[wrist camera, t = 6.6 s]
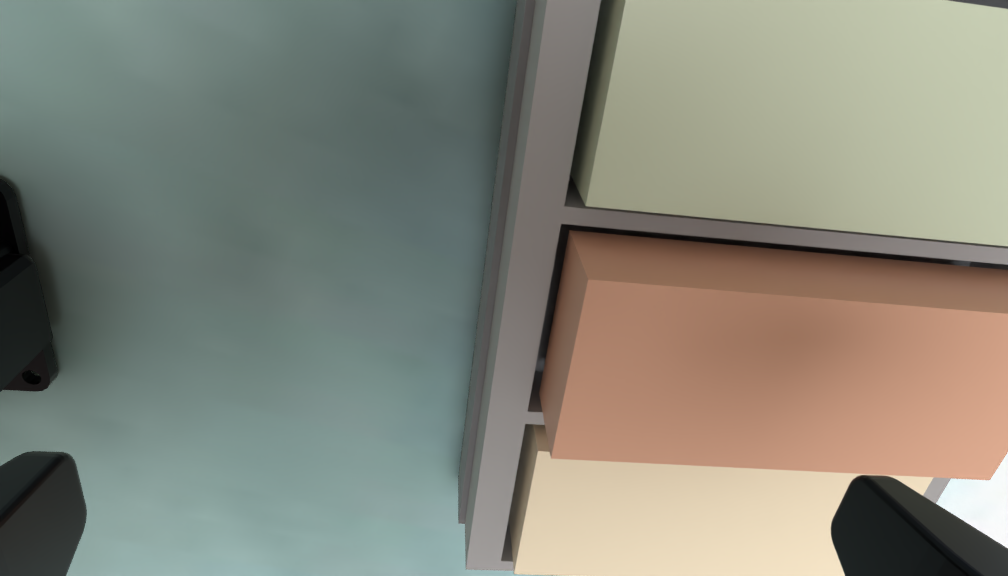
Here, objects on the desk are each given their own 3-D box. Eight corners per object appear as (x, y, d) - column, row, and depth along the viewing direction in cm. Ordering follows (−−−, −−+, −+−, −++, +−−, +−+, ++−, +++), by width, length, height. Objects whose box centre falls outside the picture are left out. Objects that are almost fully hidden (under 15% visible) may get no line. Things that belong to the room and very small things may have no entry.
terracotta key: (539, 393, 17) (551, 458, 15) (569, 230, 15) (588, 279, 13) (928, 417, 18) (989, 480, 16) (1007, 270, 16) (1090, 320, 14)
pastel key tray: (458, 477, 23) (458, 571, 19) (572, -451, 12) (617, -598, 9) (833, 494, 24) (893, 583, 21) (1229, -310, 14) (1481, -390, 10)
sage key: (568, 169, 15) (585, 205, 13) (605, -48, 13) (634, -44, 11) (988, 211, 17) (1064, 251, 15) (1084, 20, 15) (1190, 34, 12)
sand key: (508, 508, 21) (513, 574, 19) (528, 392, 19) (538, 451, 16) (831, 521, 22) (871, 584, 20) (885, 414, 20) (936, 471, 18)
